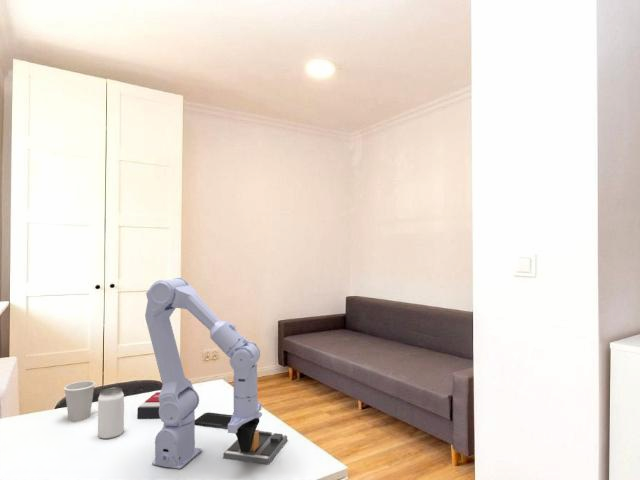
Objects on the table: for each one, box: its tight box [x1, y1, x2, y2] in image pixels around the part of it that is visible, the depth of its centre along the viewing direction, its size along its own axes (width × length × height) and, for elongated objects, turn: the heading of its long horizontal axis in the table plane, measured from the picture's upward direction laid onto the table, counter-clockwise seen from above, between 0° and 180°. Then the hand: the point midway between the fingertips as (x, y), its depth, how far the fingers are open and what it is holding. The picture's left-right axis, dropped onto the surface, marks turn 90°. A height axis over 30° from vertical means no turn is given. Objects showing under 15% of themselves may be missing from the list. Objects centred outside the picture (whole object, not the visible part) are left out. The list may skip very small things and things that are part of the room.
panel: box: [222, 430, 288, 465], centre depth 106 cm, size 13×12×2 cm
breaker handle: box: [250, 429, 260, 451], centre depth 103 cm, size 3×3×4 cm
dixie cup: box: [63, 380, 96, 422], centre depth 126 cm, size 8×8×10 cm
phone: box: [195, 412, 233, 430], centre depth 122 cm, size 8×1×15 cm
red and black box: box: [136, 391, 161, 420], centre depth 133 cm, size 11×4×15 cm
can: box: [97, 387, 125, 440], centre depth 115 cm, size 6×6×12 cm
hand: (245, 450), depth 100 cm, fingers closed
